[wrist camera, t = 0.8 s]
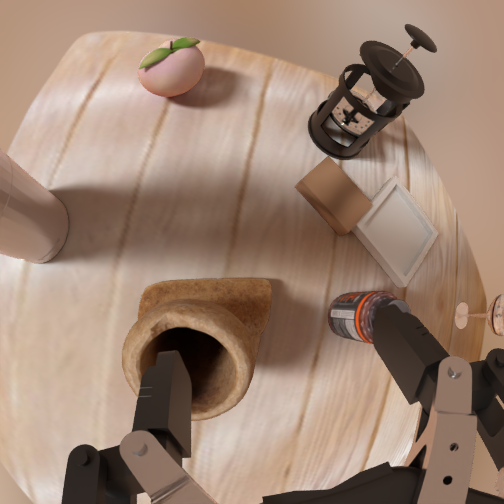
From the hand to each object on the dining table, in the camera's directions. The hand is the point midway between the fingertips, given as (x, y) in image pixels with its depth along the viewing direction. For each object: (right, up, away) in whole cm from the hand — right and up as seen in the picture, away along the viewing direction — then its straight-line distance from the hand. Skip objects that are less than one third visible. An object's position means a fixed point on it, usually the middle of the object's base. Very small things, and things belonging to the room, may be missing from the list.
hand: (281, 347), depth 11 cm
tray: (+20, +7, +29) cm, 36 cm away
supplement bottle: (+11, -5, +26) cm, 29 cm away
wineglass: (+37, -8, +31) cm, 49 cm away
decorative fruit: (-13, +28, +26) cm, 40 cm away
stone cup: (-7, -5, +22) cm, 24 cm away
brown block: (+10, +11, +28) cm, 32 cm away
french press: (+12, +22, +30) cm, 40 cm away
